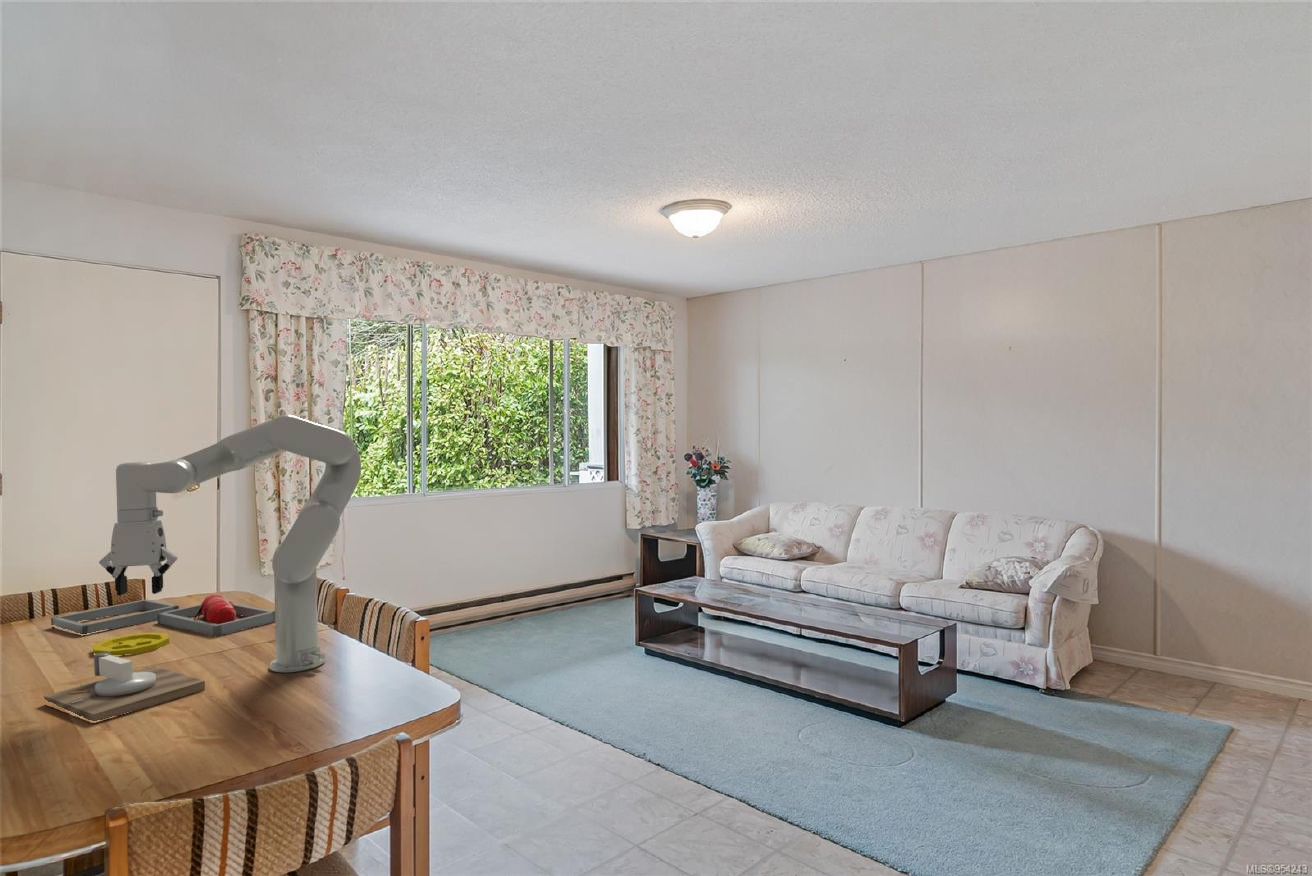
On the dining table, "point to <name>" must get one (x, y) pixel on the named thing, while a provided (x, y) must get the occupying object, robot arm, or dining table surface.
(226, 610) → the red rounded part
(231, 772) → the dining table surface
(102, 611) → the tray
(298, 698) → the dining table surface
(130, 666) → the dial
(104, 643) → the decorative disc
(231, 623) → the tray
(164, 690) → the dial plate
